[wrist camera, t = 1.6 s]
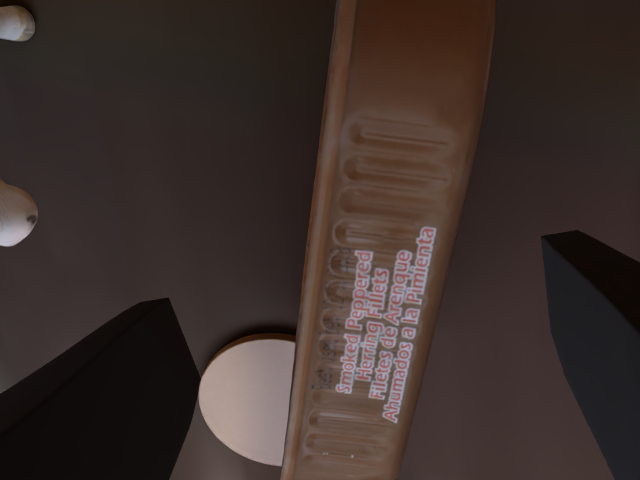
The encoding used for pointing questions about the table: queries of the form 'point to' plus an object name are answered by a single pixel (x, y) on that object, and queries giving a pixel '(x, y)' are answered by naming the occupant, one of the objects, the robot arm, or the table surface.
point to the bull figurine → (3, 200)
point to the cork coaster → (250, 395)
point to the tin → (382, 226)
